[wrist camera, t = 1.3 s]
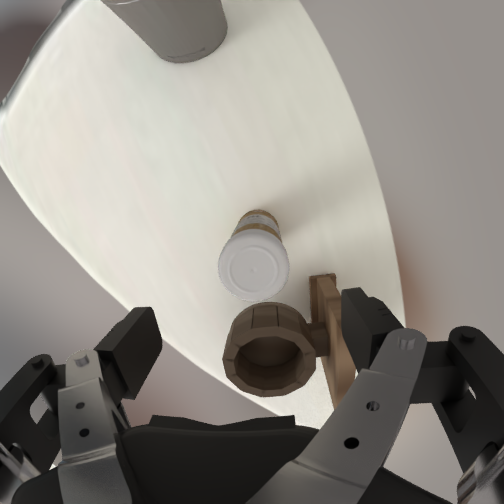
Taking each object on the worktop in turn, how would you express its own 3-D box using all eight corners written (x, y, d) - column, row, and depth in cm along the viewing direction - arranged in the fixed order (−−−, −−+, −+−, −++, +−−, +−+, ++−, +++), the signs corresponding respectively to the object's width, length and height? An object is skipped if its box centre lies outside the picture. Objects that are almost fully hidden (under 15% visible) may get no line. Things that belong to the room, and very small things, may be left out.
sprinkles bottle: (239, 251, 31) (221, 306, 18) (235, 210, 30) (211, 237, 17) (281, 248, 31) (291, 301, 18) (277, 207, 29) (287, 231, 16)
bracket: (227, 285, 32) (208, 343, 20) (334, 273, 31) (368, 325, 19) (240, 354, 35) (230, 423, 23) (334, 344, 34) (357, 410, 22)
